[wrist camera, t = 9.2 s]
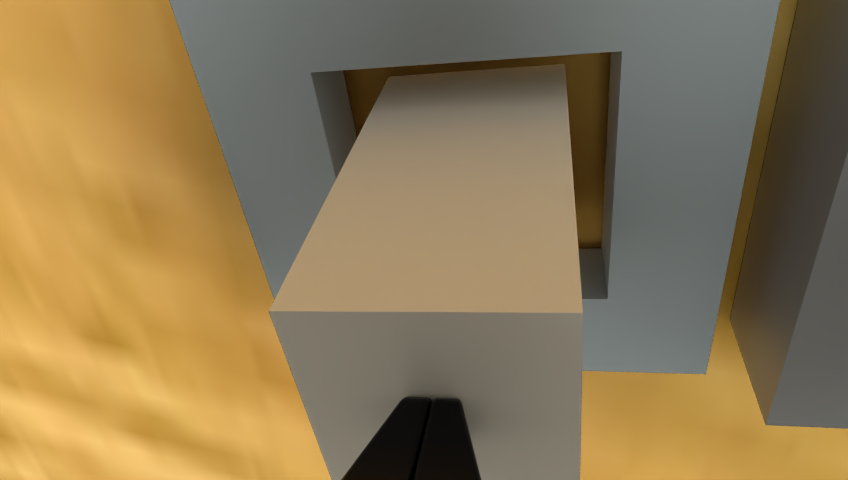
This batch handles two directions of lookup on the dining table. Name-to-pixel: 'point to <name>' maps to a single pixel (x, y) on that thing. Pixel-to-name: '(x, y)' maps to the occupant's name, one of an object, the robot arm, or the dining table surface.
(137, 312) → the dining table surface
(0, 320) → the dining table surface
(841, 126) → the raised dock
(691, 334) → the low dock
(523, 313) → the plug
